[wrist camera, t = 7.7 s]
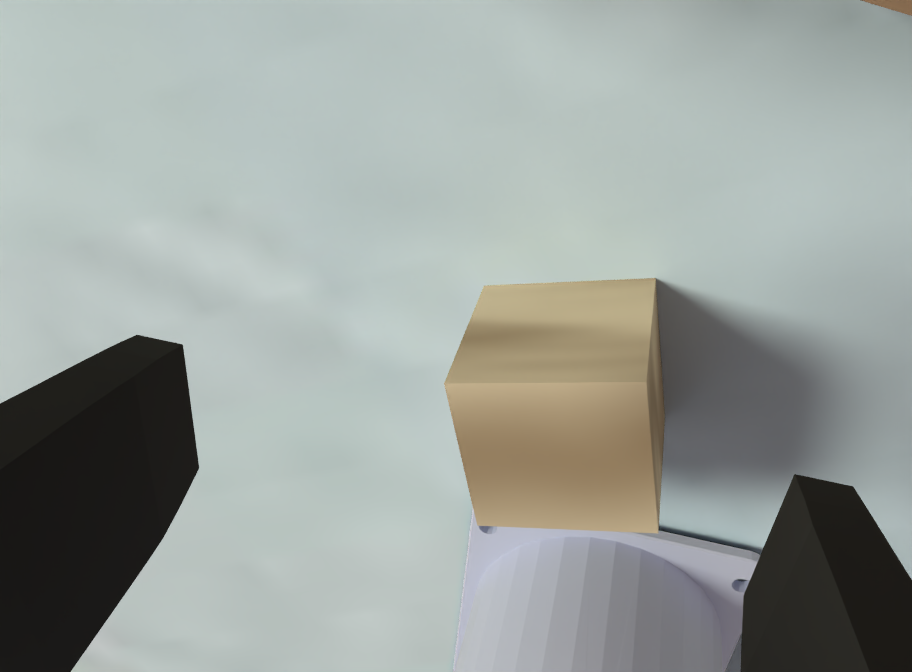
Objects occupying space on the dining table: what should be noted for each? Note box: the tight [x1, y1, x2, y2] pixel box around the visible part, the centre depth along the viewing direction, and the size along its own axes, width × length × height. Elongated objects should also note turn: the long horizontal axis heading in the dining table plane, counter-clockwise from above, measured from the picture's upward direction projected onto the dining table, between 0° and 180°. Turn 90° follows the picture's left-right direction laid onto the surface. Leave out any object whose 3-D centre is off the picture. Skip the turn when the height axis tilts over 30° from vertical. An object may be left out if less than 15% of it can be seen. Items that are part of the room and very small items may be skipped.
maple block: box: [444, 278, 665, 533], centre depth 19 cm, size 4×4×4 cm
